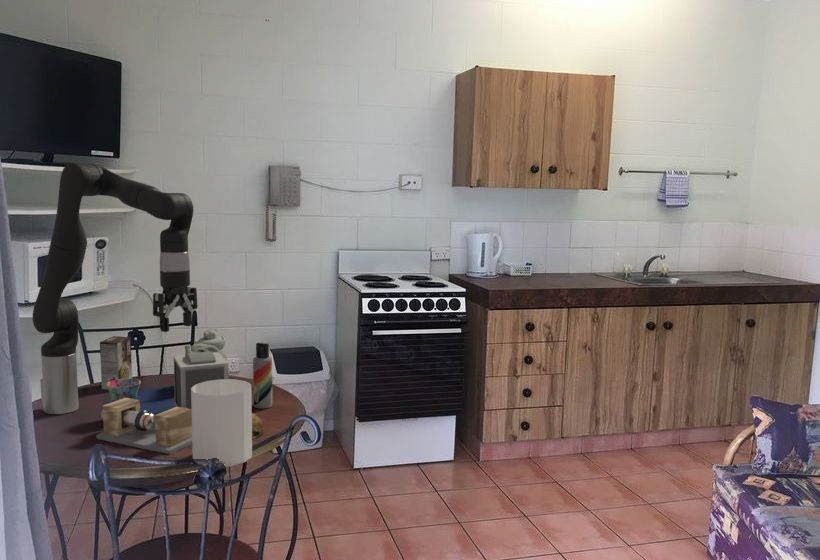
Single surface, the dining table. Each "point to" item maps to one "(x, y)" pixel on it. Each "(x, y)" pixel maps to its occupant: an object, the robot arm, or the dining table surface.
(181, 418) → the socket block
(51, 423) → the dining table surface
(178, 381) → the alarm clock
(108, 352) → the coffee box
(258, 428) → the bread roll
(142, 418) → the tube
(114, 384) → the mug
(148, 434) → the base mat
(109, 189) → the robot arm
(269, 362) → the lotion bottle
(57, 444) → the dining table surface
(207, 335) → the grey lumpy piece
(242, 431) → the container
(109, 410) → the guide block
